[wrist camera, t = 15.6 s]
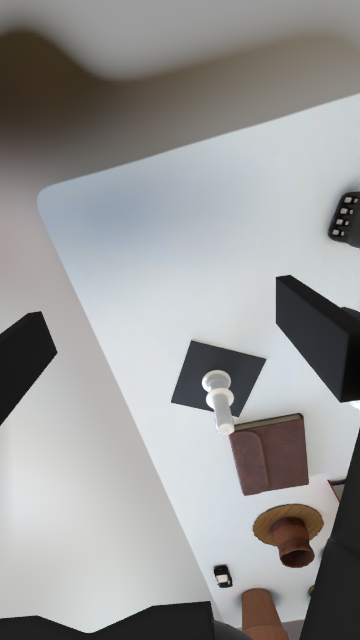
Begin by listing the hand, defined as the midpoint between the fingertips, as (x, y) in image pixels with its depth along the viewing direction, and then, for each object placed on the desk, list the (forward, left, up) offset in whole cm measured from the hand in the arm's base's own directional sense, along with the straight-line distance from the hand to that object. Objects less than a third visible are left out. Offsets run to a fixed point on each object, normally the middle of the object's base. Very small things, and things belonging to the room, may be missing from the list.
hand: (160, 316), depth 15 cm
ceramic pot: (+46, -60, -27) cm, 80 cm away
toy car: (+38, -86, -27) cm, 98 cm away
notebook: (+31, -37, -27) cm, 55 cm away
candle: (+14, -22, -27) cm, 37 cm away
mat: (+14, -22, -27) cm, 37 cm away
